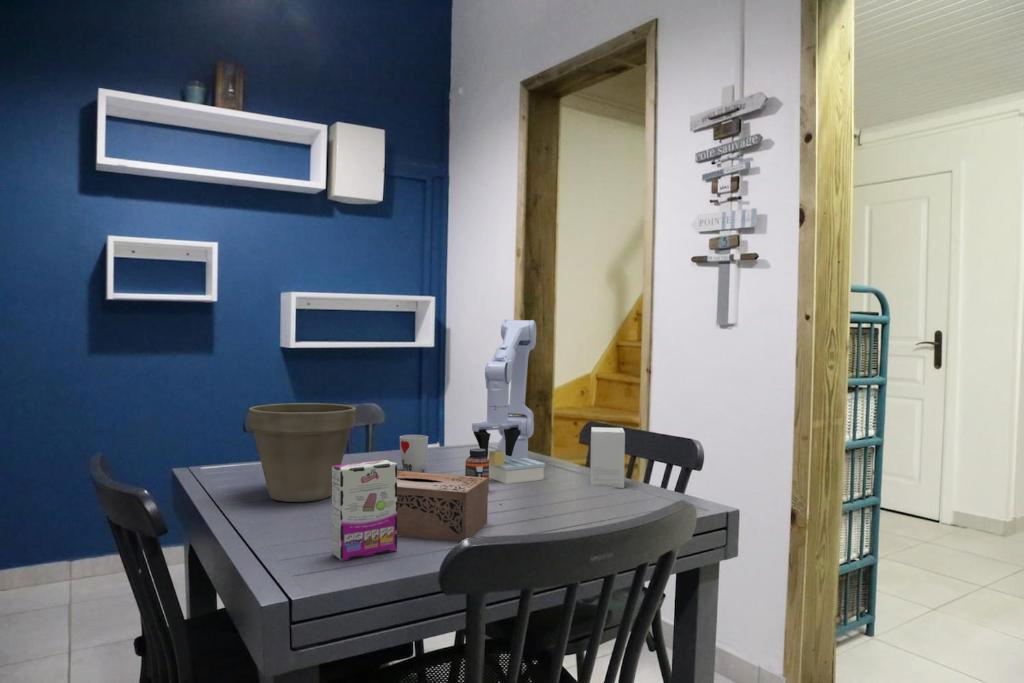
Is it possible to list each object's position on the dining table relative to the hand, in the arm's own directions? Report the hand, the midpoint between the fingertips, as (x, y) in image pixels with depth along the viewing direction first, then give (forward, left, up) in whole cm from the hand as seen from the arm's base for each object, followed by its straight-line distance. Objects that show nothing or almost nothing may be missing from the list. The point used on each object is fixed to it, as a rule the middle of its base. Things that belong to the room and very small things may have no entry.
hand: (496, 456), depth 192 cm
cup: (-24, -13, -7) cm, 28 cm away
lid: (0, +6, -3) cm, 6 cm away
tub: (0, +6, -7) cm, 10 cm away
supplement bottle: (+9, -11, -7) cm, 16 cm away
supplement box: (+15, +26, -7) cm, 31 cm away
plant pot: (-10, -49, -7) cm, 51 cm away
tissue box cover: (+28, -36, -8) cm, 46 cm away
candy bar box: (+39, -52, -7) cm, 65 cm away
